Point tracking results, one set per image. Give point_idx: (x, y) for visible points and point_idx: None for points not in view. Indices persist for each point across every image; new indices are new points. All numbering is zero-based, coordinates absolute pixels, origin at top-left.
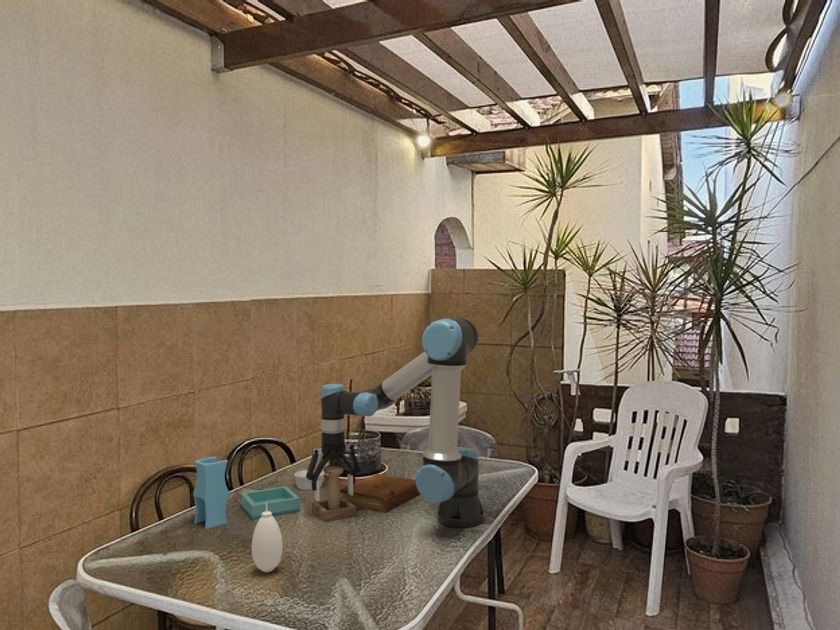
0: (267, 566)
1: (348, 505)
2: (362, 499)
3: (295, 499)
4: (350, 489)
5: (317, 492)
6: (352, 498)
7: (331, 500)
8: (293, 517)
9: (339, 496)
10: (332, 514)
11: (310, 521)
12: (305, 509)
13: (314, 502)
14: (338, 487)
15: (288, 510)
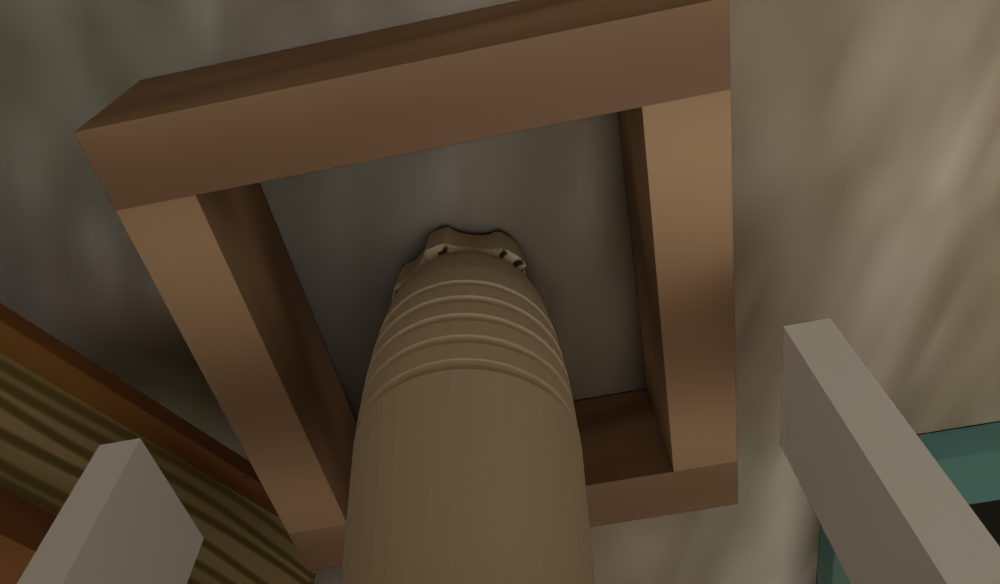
0: None
1: (235, 274)
2: (20, 460)
3: None
4: (105, 544)
5: (915, 442)
6: None
7: (530, 350)
8: (983, 301)
9: (367, 413)
10: (555, 19)
11: (861, 83)
12: (751, 487)
13: (710, 497)
14: (363, 561)
15: (989, 453)
